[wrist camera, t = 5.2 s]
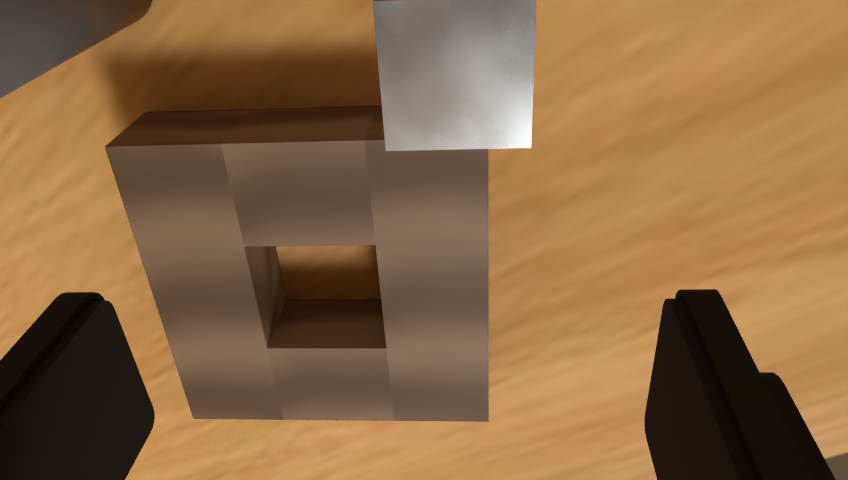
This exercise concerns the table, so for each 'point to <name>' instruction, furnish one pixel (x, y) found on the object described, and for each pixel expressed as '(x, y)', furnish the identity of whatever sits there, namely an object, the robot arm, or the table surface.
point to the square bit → (456, 73)
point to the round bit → (55, 33)
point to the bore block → (310, 226)
